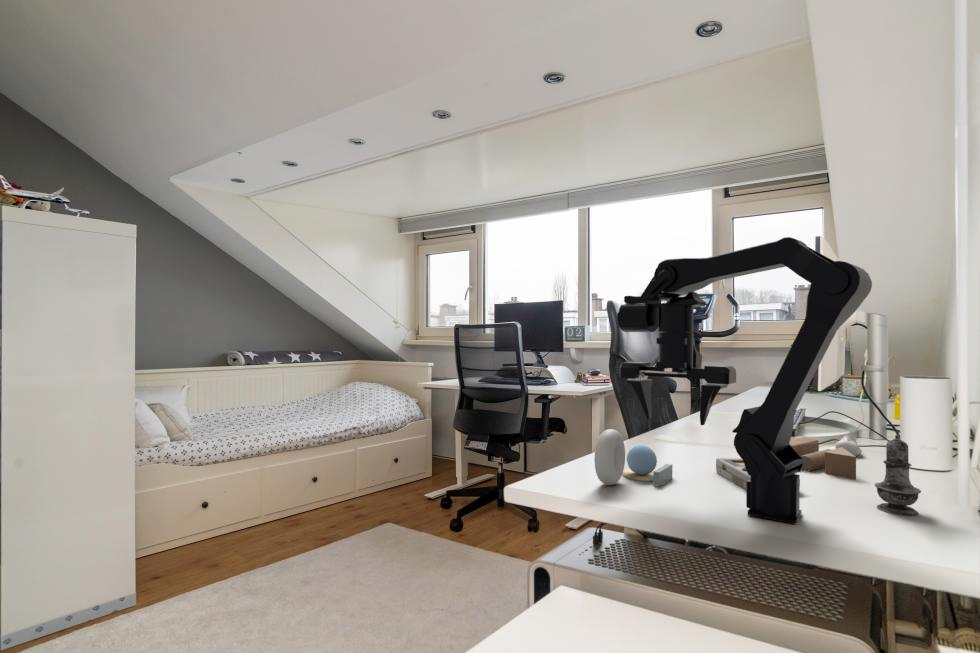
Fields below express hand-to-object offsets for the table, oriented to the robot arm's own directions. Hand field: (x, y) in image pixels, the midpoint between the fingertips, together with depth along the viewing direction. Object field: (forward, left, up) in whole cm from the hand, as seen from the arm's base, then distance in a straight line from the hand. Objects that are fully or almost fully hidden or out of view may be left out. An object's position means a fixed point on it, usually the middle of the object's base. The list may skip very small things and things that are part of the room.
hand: (675, 422), depth 94 cm
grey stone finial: (-31, -12, -12) cm, 35 cm away
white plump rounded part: (+11, +3, -12) cm, 17 cm away
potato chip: (+8, -6, -12) cm, 16 cm away
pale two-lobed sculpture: (-22, -58, -12) cm, 64 cm away
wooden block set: (-19, -41, -13) cm, 47 cm away
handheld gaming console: (-10, -16, -13) cm, 23 cm away
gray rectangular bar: (+4, -5, -12) cm, 14 cm away
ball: (+8, -6, -9) cm, 14 cm away
